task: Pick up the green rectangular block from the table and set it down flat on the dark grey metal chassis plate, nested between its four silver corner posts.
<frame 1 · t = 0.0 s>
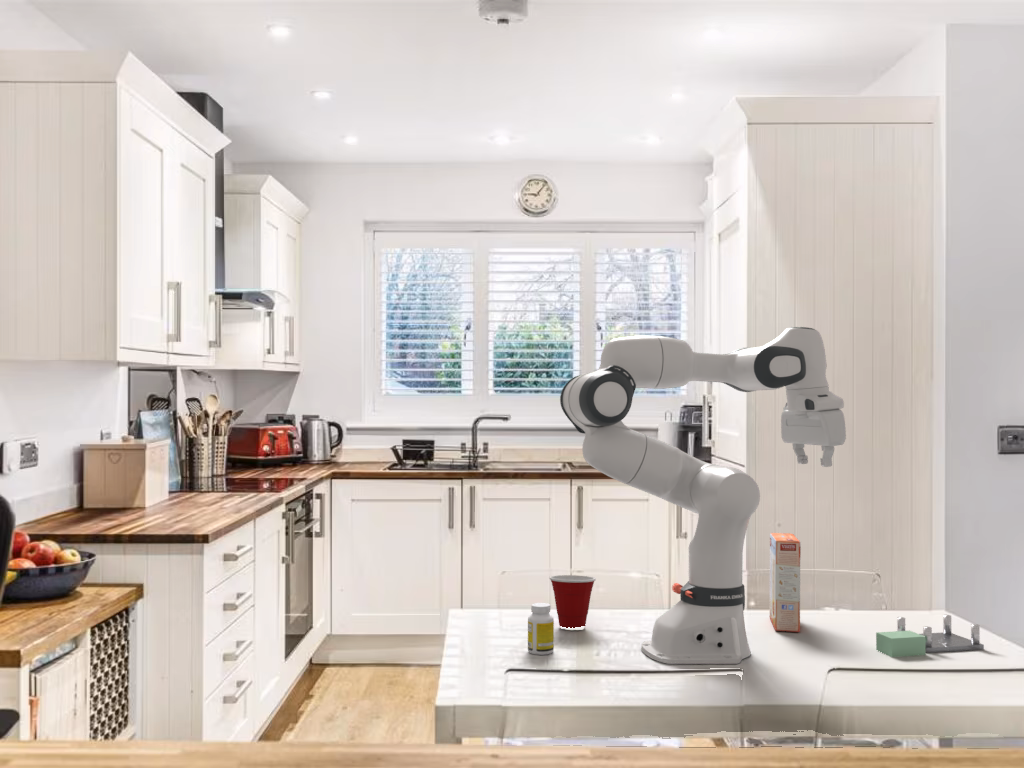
hand: (814, 465, 189), 39 cm above the table, tool pointing down, fingers open, 8 cm apart
cracker box: (784, 626, 207), on the table
supplement bottle: (540, 652, 183), on the table
green rectangular block: (900, 653, 184), on the table
plastic cup: (572, 628, 203), on the table
chassis: (937, 644, 190), on the table
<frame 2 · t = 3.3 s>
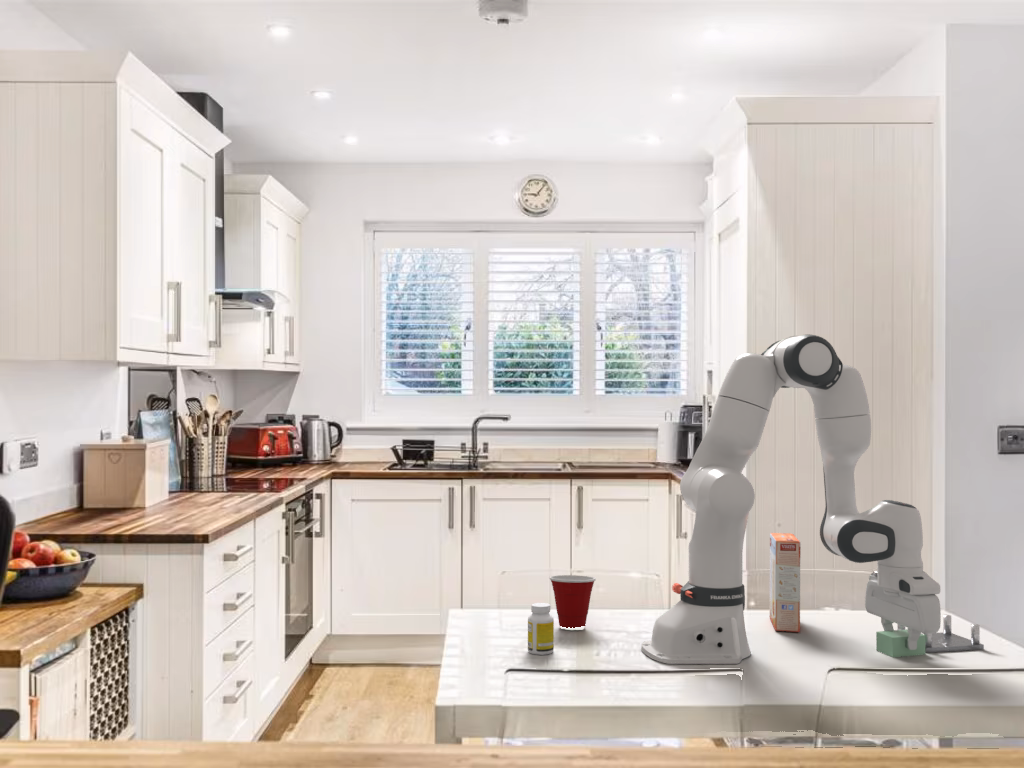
hand: (900, 644, 184), 2 cm above the table, tool pointing down, fingers closed on green rectangular block, 5 cm apart
green rectangular block: (900, 652, 184), on the table, touching gripper
everything else where it was.
when the fingers open (4 cm above the table, at t = 7.6 s): green rectangular block stays where it is, resting on chassis.
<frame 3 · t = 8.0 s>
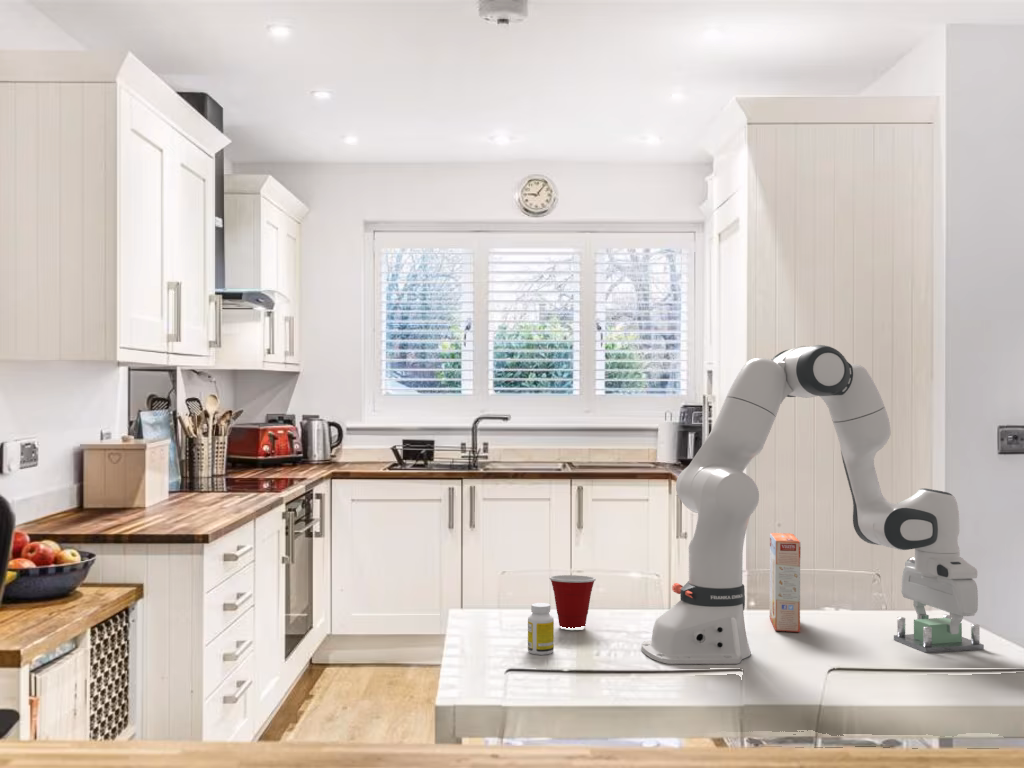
hand: (937, 627, 190), 4 cm above the table, tool pointing down, fingers open, 8 cm apart
green rectangular block: (937, 639, 190), point 1 cm above the table, touching chassis
everything else where it was.
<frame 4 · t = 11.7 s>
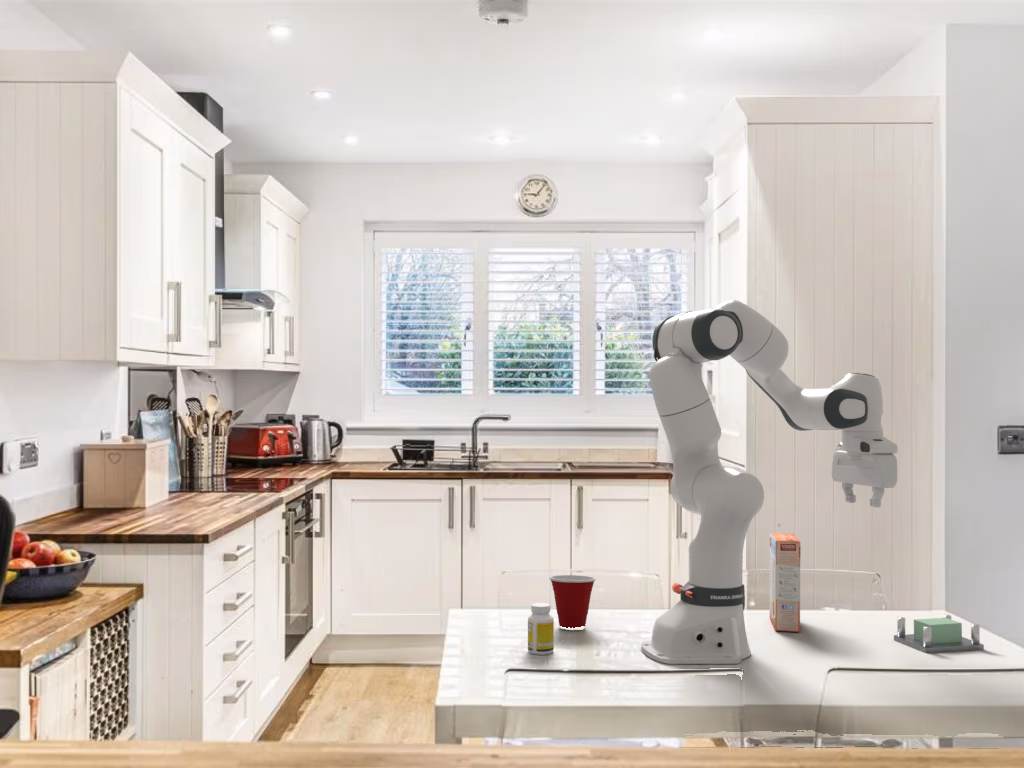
hand: (862, 504, 200), 29 cm above the table, tool pointing down, fingers open, 8 cm apart
nothing on the table moved.
at the end: green rectangular block 0.0 cm off-centre on the chassis, point 1.0 cm above the chassis's base; green rectangular block tilted 0°; the gripper is holding nothing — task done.
